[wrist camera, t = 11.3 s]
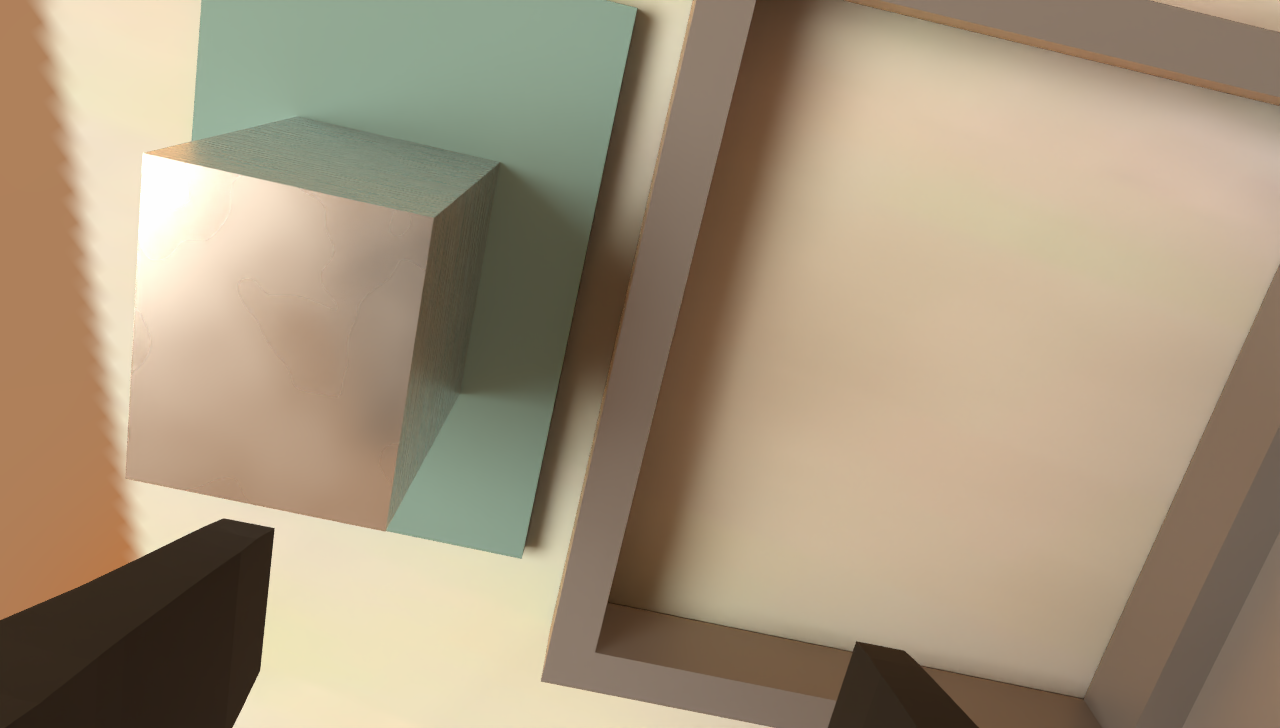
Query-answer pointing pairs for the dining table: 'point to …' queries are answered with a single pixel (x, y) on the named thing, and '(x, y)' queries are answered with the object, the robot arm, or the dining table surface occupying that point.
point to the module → (302, 314)
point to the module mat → (469, 124)
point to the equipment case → (1006, 714)
